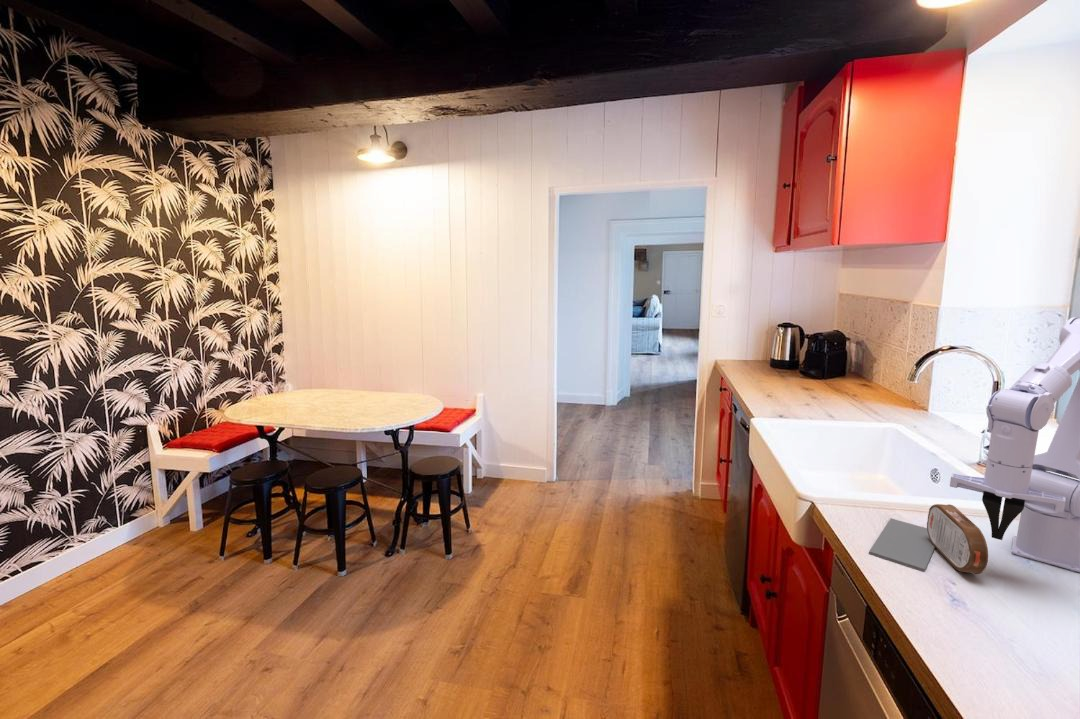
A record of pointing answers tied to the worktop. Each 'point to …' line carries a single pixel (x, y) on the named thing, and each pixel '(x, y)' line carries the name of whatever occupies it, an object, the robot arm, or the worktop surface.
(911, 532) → the mat
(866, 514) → the worktop surface
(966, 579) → the worktop surface
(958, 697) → the worktop surface
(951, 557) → the tin
